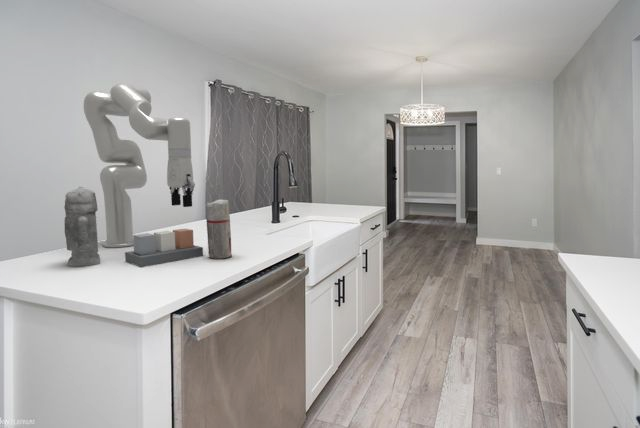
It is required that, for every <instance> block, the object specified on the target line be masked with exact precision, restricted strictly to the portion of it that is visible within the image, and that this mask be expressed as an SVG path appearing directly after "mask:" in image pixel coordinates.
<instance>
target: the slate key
mask: <svg viewBox="0 0 640 428" xmlns="http://www.w3.org/2000/svg"><path fill="white" fill-rule="evenodd" d="M133 241H134V245H133V251H134V253H136V254H139V255H146V254H152V253H156V243H155V235H154V233H152V234H151V233H147V232H145V233H140V234H139V233H138V234H133Z"/></svg>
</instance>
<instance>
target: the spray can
mask: <svg viewBox="0 0 640 428" xmlns="http://www.w3.org/2000/svg"><path fill="white" fill-rule="evenodd" d="M205 208H206V209H205V211H206V213H205V219H206V232H207V247H208V248H207V250H208V256H209V257H208V258H210V259H214V260H215V259H216V260H217V259H218V260H219V259H226V258H231V257H232V256H233V255H232V236H231V234H232V233H231V218H230V217H231V215H230V201H229V200H227V199H216V200H214V201H213V202H208V203H206V207H205Z"/></svg>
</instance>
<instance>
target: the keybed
mask: <svg viewBox="0 0 640 428" xmlns="http://www.w3.org/2000/svg"><path fill="white" fill-rule="evenodd" d="M203 256H204V247H203V246H199V245H196V244H195V245H194V247H188V248H182V249H180V248H176V247H175V250H170V251H164V252H160V251H157V250H156V253H152V254H146V255H139V254H136V253H134V250H132V251H131V250H130V251H125V252H124V261H125V262H127V263H131V264H132V265H135V266H138V267H141V268H144V267H150V266H154V265H155V266H156V265H160V264H161V265H162V264H165V263H166V264H167V263H171V262H176V261H181V260H187V259H193V258H197V257H198V258H199V257H203Z"/></svg>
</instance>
